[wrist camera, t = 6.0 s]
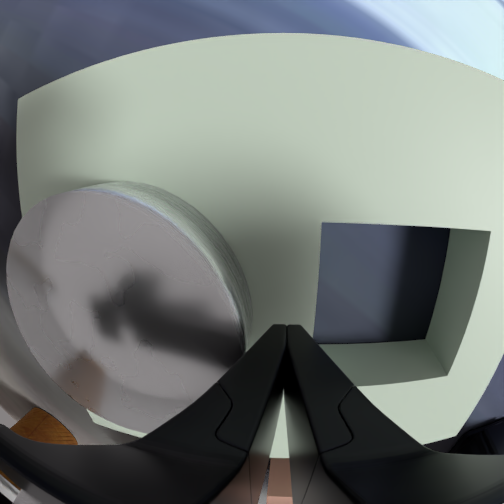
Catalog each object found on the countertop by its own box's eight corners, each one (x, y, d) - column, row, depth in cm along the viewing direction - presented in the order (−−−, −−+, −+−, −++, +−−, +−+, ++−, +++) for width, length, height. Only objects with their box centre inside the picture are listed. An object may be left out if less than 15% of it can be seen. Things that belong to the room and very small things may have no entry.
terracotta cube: (328, 468, 17) (330, 515, 13) (270, 468, 17) (265, 515, 13) (339, 439, 16) (344, 494, 11) (272, 440, 16) (267, 496, 12)
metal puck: (253, 404, 11) (245, 451, 9) (77, 370, 12) (53, 401, 9) (252, 175, 8) (238, 182, 6) (32, 191, 9) (-13, 204, 7)
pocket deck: (441, 404, 14) (455, 435, 11) (113, 393, 16) (94, 422, 13) (504, 105, 8) (543, 101, 5) (59, 103, 11) (18, 99, 8)
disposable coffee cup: (78, 459, 23) (41, 525, 12) (19, 408, 21) (-29, 468, 10) (102, 448, 20) (55, 536, 9) (27, 383, 19) (-38, 460, 7)
